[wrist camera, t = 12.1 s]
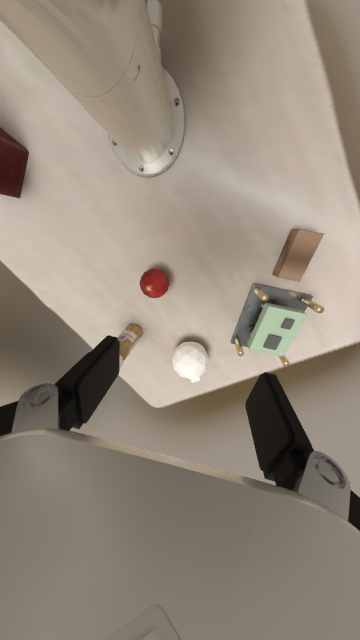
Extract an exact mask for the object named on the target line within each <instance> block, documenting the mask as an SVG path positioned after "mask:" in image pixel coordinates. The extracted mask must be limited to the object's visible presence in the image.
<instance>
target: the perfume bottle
mask: <svg viewBox="0 0 360 640" xmlns="http://www.w3.org/2000/svg"><path fill="white" fill-rule="evenodd" d="M208 361H209V357H208V355H207V353H206V351H205V349H204V347H203V346H202V345H200V344H199V343H196V342H183V343H181V344H180V345H179V346H178V347H177V348H176V349H175V350H174V353H173V357H172V362H173V366H174V369H175V370H176V372H177V373H178V374H179V375H180V376H181V377H185V378H189V379H191V381H192V383H194V382H197V381H200V377H199V376H201V375H202V374H203V373H204V372H205V371H206V369H207V365H208Z"/></svg>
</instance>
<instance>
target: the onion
mask: <svg viewBox="0 0 360 640" xmlns="http://www.w3.org/2000/svg"><path fill="white" fill-rule="evenodd" d="M168 286H169V281H168V278H167V276H166V275H165V274H164V273H163V272H162V271H160V270H157V269H150V270H148V271H146V272H145V273H144V274H143V275H142V277H141V280H140V287H141V290H142V291H143V293H144V294H145V295H147V296H148V297H151V298H159V297H161V296H162V295H164V294H165V293H166V292H167V290H168Z"/></svg>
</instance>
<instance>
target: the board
mask: <svg viewBox="0 0 360 640" xmlns="http://www.w3.org/2000/svg"><path fill="white" fill-rule="evenodd" d="M306 316H307V314H306V313H305V312H303V311H302V310H298V309H293V308H288V307H284V306H279V305H274V304H270V303H265V305H264V307H263V310H262V312H261V314H260V316H259V319H258V321H257V323H256V325H255V328H254V330H253V332H252V334H251V337H250V339H249V341H248V343H247V345H248V347H249V349H251V350H255V351H260V352H264V353H268V354H272V355H277V356H281V357H283V355H284V353H285V352H286V350H287V348H288V346H289V345H290V343H291V341H292V340H293V338H294V336H295V335H296V333H297V331H298V329H299V328H300V326H301V324H302V323H303V321H304V319H305V318H306Z"/></svg>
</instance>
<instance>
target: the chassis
mask: <svg viewBox="0 0 360 640" xmlns="http://www.w3.org/2000/svg"><path fill="white" fill-rule="evenodd" d="M312 297H313V296H311V295H307V294H302V293H297V292H293V291H288V290H283V289H278V288H273V287H269V286H264V285H259V284H254V283H253V284H252V287H251V290H250V292H249V295H248V298H247V300H246V303H245V305H244V308H243V311H242V313H241V316H240V318H239V321H238V324H237V326H236V329H235V332H234V334H233V337H232V339H231V343H232V344H235V345H236V348H237V352H238V355H239V356H242V355H244V352H243V349H242V346H246V347H248V345H247V343H248V341H249V339H250V337H251V334H252V332H253V330H254V328H255V325H256V323H257V321H258V319H259V316H260V314H261V312H262V310H263V307H264V305H265V303H270V304H274V305H279V306H284V307H288V308H293V309H298V310H302V311H303V312H304V311H305V310H306V308H307V306H308V307H310V308H311V309H313V310H314V311H316V312H317V313H321V312H323V311H324V308H323V307H322V306H320V305H318V304H317V303H315V302H313V301H311V299H312ZM278 357H279V358H280V360H281V362H282V363H283V365H284V366H289V365H290V363H289V361H288V360H287V358H286V357H285V355H283V357H281V356H278Z"/></svg>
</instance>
